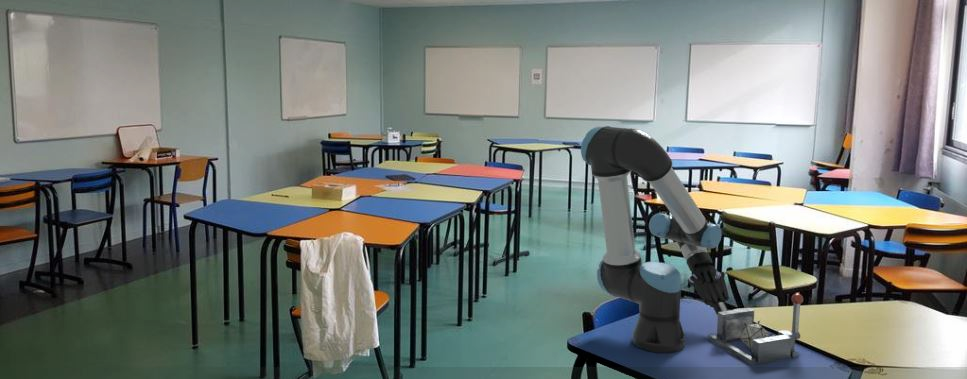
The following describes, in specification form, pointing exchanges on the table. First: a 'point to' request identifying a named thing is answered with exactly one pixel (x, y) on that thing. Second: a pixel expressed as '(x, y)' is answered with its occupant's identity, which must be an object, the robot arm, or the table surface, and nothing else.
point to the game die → (753, 334)
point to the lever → (796, 314)
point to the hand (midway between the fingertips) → (727, 323)
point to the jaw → (733, 323)
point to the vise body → (763, 348)
